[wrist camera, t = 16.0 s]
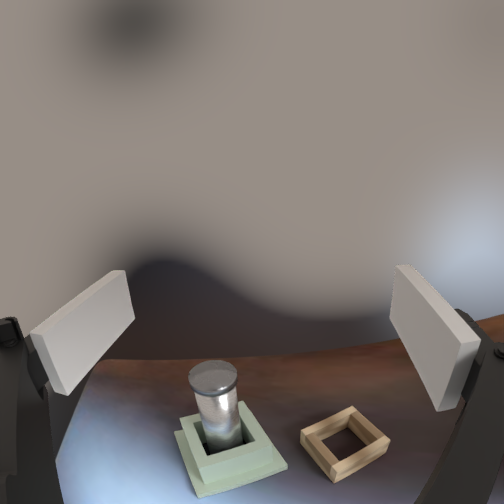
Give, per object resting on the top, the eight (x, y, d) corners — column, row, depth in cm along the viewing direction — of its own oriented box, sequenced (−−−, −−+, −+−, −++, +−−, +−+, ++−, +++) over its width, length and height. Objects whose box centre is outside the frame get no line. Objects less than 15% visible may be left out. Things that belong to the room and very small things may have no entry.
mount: (349, 419, 40) (352, 405, 39) (385, 452, 32) (390, 440, 31) (300, 442, 37) (301, 430, 36) (333, 483, 29) (337, 472, 28)
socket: (250, 414, 43) (248, 392, 41) (287, 468, 32) (288, 448, 31) (175, 435, 38) (167, 413, 37) (198, 498, 28) (190, 480, 26)
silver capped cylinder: (238, 436, 39) (227, 355, 34) (252, 461, 34) (244, 381, 30) (203, 446, 37) (183, 366, 32) (215, 472, 32) (195, 395, 28)
